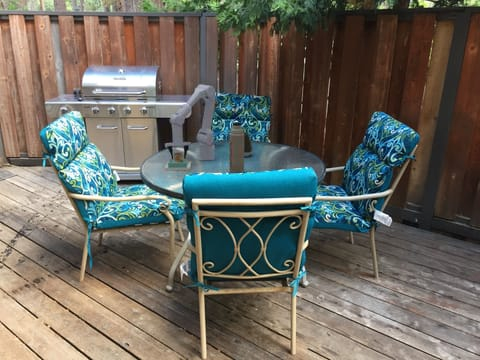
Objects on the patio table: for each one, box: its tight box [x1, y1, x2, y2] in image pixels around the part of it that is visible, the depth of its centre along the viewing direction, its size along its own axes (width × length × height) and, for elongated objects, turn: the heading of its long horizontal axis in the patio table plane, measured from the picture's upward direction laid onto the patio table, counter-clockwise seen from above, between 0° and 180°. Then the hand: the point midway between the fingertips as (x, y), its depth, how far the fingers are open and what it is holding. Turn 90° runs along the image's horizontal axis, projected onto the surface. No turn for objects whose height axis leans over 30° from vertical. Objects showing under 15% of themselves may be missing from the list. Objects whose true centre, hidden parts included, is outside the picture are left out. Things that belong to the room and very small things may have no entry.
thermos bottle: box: [229, 121, 245, 174], centre depth 221 cm, size 8×8×28 cm
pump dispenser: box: [243, 131, 253, 158], centre depth 254 cm, size 10×10×15 cm
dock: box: [164, 158, 192, 171], centre depth 235 cm, size 14×12×4 cm
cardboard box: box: [173, 151, 184, 163], centre depth 237 cm, size 4×6×5 cm
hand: (178, 158), depth 237 cm, fingers open, 6 cm apart
